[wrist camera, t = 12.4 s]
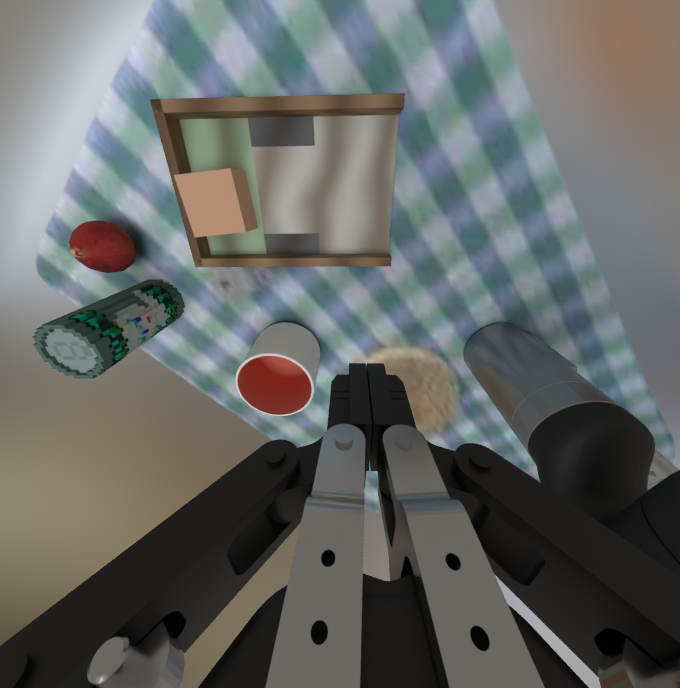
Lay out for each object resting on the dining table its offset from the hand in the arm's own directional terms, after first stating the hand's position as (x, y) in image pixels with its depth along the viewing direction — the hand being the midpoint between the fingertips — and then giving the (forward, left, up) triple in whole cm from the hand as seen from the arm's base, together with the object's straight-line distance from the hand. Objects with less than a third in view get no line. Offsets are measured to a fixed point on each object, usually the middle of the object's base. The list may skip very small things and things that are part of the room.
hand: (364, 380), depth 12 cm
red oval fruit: (+30, -2, -27) cm, 41 cm away
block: (+15, -7, -27) cm, 32 cm away
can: (+28, +6, -27) cm, 39 cm away
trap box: (+8, -8, -27) cm, 29 cm away
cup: (+10, +14, -27) cm, 32 cm away
